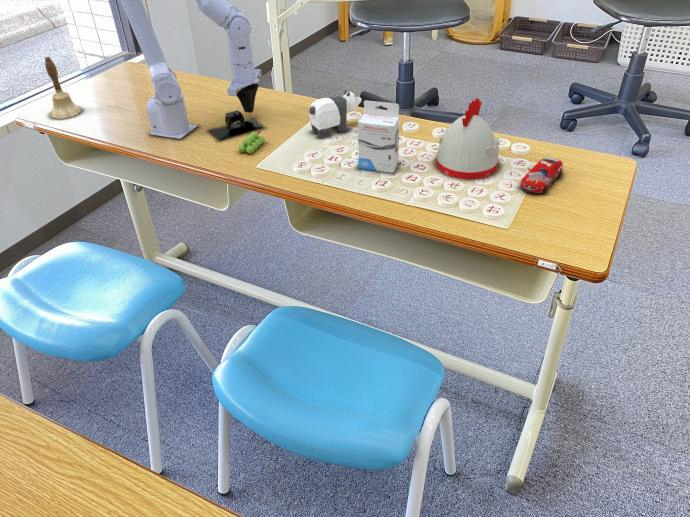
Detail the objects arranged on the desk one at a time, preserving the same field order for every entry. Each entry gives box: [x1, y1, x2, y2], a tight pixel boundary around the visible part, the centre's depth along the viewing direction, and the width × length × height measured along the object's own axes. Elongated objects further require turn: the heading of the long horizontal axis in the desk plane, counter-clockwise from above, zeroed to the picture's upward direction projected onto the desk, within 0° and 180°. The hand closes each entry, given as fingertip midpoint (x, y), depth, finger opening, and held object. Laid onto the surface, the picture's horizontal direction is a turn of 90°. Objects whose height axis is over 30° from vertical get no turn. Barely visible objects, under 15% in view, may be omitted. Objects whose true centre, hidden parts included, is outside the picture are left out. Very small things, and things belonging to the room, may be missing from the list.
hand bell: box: [44, 56, 82, 120], centre depth 163 cm, size 8×8×16 cm
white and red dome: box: [435, 98, 500, 180], centre depth 131 cm, size 14×14×15 cm
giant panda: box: [308, 89, 363, 139], centre depth 150 cm, size 15×6×10 cm, turn 119°
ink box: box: [357, 100, 401, 174], centre depth 132 cm, size 8×5×15 cm, turn 72°
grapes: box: [237, 130, 265, 155], centre depth 146 cm, size 4×9×3 cm, turn 159°
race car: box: [520, 156, 564, 194], centre depth 127 cm, size 13×5×4 cm, turn 140°
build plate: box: [208, 109, 264, 142], centre depth 154 cm, size 12×7×5 cm, turn 122°
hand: (249, 111), depth 159 cm, fingers closed
